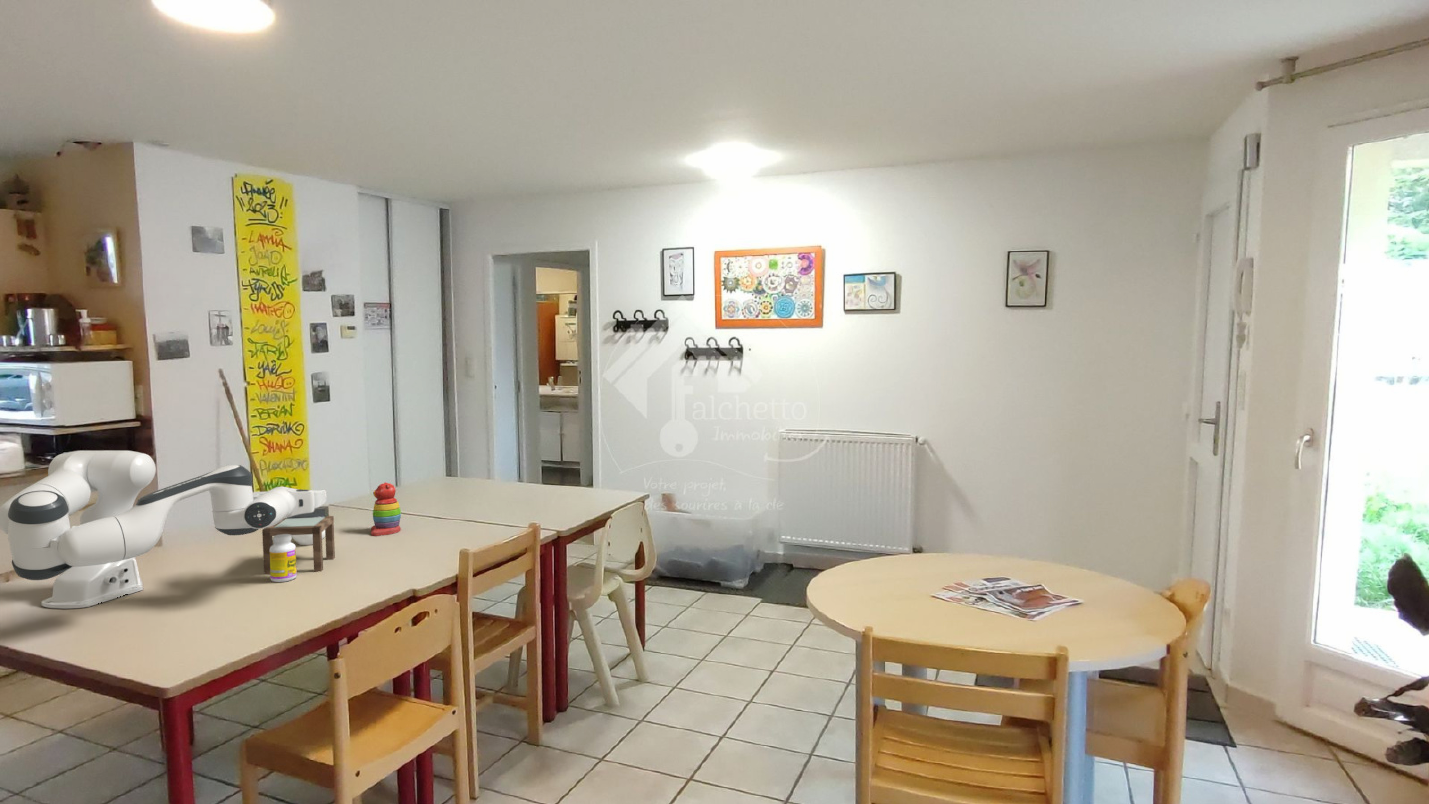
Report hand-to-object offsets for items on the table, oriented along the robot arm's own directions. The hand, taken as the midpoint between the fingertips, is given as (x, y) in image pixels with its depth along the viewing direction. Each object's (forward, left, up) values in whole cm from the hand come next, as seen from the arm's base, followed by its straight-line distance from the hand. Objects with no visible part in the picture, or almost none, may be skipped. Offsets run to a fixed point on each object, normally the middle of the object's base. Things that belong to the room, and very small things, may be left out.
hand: (295, 493), depth 229 cm
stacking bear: (+45, -3, -24) cm, 51 cm away
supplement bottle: (-10, -2, -23) cm, 26 cm away
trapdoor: (+6, +2, -13) cm, 15 cm away
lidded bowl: (+28, +15, -24) cm, 40 cm away
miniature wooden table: (+3, +1, -23) cm, 24 cm away
